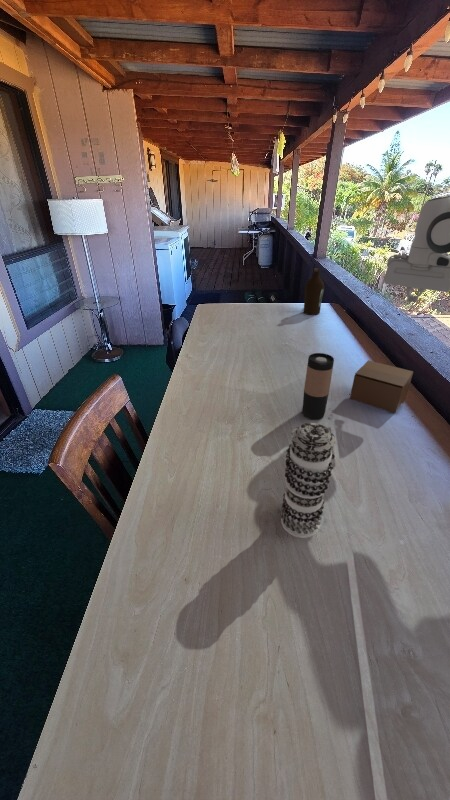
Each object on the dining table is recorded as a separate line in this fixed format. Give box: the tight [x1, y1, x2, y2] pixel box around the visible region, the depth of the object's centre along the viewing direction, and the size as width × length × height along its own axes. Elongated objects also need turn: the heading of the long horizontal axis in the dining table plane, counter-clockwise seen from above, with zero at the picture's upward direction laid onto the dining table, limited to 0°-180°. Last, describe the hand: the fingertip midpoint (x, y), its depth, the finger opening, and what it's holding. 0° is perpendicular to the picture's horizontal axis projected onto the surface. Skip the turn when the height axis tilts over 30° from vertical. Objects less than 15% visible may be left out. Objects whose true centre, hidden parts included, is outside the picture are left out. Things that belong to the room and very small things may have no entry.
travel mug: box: [301, 352, 335, 421], centre depth 109 cm, size 8×8×20 cm
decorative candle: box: [280, 422, 337, 539], centre depth 71 cm, size 9×9×25 cm
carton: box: [349, 366, 414, 414], centre depth 118 cm, size 15×13×11 cm
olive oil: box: [303, 267, 325, 316], centre depth 202 cm, size 11×11×25 cm
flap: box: [361, 360, 414, 379], centre depth 118 cm, size 15×6×1 cm, turn 52°
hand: (411, 301), depth 116 cm, fingers closed
